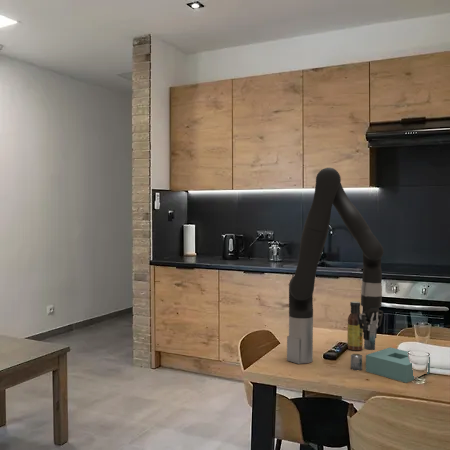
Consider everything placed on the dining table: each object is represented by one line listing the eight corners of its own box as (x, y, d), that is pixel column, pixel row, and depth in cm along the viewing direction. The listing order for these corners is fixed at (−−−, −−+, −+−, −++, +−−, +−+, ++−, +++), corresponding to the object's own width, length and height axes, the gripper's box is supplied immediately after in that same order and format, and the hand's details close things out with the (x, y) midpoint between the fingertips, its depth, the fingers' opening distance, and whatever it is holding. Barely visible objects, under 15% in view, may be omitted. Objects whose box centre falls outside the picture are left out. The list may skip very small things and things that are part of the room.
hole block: (406, 382, 172) (406, 365, 172) (365, 371, 184) (365, 354, 184) (429, 373, 183) (430, 356, 182) (389, 362, 195) (390, 347, 195)
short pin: (357, 371, 185) (357, 357, 184) (348, 368, 188) (348, 355, 187) (364, 369, 187) (364, 355, 187) (354, 366, 190) (355, 353, 190)
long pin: (371, 350, 190) (372, 321, 190) (361, 348, 193) (362, 319, 193) (377, 349, 193) (378, 320, 192) (368, 346, 196) (369, 318, 196)
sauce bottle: (363, 351, 210) (363, 303, 209) (347, 350, 211) (348, 303, 211) (362, 347, 216) (362, 301, 216) (347, 346, 218) (347, 300, 217)
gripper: (373, 291, 200) (371, 334, 200) (351, 294, 191) (350, 339, 191) (390, 293, 194) (388, 338, 195) (369, 297, 185) (367, 344, 185)
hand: (369, 338), depth 193 cm, fingers closed on long pin, 4 cm apart
